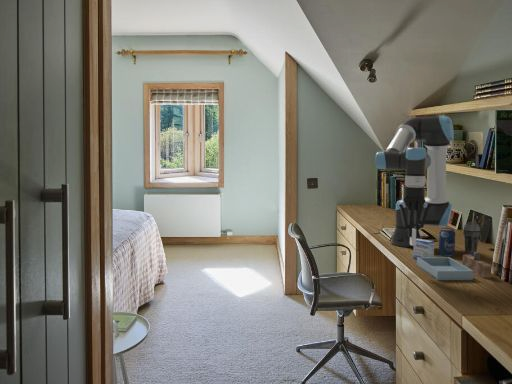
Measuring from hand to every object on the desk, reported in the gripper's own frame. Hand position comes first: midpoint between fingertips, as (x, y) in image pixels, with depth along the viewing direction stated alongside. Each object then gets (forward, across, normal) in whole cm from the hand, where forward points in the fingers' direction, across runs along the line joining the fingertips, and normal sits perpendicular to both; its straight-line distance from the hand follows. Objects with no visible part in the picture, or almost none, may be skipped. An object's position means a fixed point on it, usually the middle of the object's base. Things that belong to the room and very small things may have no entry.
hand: (412, 244), depth 200 cm
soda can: (+11, +27, +30) cm, 42 cm away
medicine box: (+11, +13, +22) cm, 28 cm away
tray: (+11, +13, 0) cm, 17 cm away
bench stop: (+11, +27, 0) cm, 29 cm away
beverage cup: (+11, +38, +29) cm, 49 cm away
